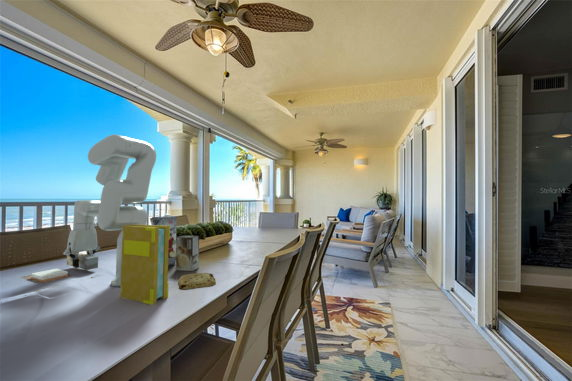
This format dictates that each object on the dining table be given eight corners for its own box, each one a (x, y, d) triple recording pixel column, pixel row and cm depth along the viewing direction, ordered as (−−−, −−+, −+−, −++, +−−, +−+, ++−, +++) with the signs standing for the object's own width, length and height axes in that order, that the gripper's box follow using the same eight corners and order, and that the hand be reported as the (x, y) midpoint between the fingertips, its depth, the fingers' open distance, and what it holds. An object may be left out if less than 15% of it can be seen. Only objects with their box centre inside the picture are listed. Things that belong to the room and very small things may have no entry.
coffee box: (199, 267, 120) (200, 235, 121) (192, 271, 114) (193, 237, 114) (182, 266, 122) (183, 235, 122) (175, 270, 115) (175, 237, 116)
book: (168, 296, 84) (170, 225, 85) (151, 304, 77) (154, 227, 78) (133, 290, 89) (135, 224, 90) (115, 297, 83) (117, 225, 84)
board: (72, 279, 101) (72, 276, 101) (40, 287, 92) (41, 283, 92) (52, 274, 108) (52, 270, 109) (20, 280, 99) (20, 277, 99)
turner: (97, 267, 108) (98, 256, 108) (87, 270, 104) (88, 258, 105) (76, 262, 116) (77, 252, 116) (66, 264, 112) (67, 254, 112)
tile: (56, 273, 105) (67, 276, 101) (30, 278, 98) (42, 282, 94) (56, 268, 105) (67, 271, 101) (31, 273, 98) (42, 276, 94)
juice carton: (147, 267, 119) (149, 214, 120) (165, 262, 129) (166, 213, 130) (160, 270, 116) (162, 214, 117) (177, 264, 125) (179, 213, 127)
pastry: (164, 287, 94) (165, 279, 94) (196, 274, 110) (196, 268, 110) (199, 293, 88) (199, 285, 88) (227, 279, 104) (227, 272, 104)
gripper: (99, 224, 120) (97, 261, 119) (56, 227, 105) (54, 269, 104) (108, 225, 117) (106, 263, 116) (65, 229, 102) (63, 272, 101)
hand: (82, 265), depth 110 cm, fingers closed on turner, 4 cm apart
